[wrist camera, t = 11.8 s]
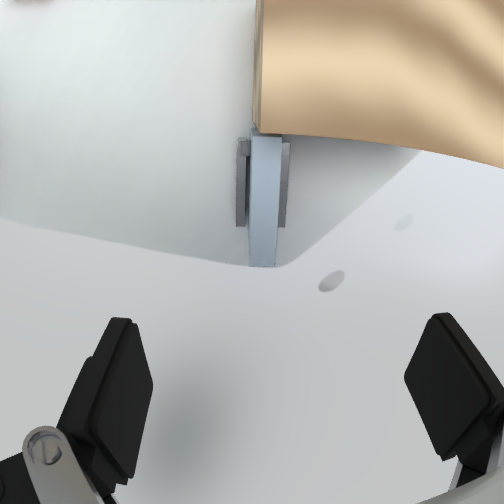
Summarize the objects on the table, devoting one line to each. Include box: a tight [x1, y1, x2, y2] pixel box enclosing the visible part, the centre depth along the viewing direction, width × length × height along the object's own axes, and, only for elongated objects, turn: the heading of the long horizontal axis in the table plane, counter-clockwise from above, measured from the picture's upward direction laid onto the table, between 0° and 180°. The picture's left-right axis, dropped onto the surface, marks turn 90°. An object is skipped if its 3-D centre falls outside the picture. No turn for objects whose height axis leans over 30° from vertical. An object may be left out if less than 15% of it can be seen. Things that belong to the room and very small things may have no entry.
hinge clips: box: [236, 138, 290, 227], centre depth 29 cm, size 8×5×3 cm, turn 179°
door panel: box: [241, 128, 282, 267], centre depth 26 cm, size 10×3×9 cm, turn 179°
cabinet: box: [252, 0, 504, 169], centre depth 18 cm, size 12×16×16 cm
